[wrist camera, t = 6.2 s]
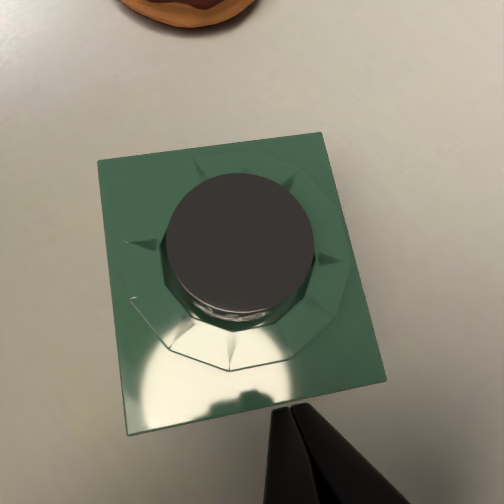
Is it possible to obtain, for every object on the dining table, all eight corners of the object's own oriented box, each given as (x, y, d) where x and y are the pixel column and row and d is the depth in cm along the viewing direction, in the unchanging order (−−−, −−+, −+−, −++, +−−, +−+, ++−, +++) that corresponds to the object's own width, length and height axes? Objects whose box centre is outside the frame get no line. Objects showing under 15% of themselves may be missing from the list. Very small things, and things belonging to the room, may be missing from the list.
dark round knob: (315, 308, 14) (329, 299, 12) (181, 333, 14) (177, 327, 12) (287, 186, 15) (296, 163, 14) (163, 204, 15) (156, 182, 13)
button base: (338, 379, 21) (410, 382, 13) (152, 419, 20) (114, 446, 12) (294, 192, 24) (333, 104, 16) (127, 217, 22) (82, 134, 15)
